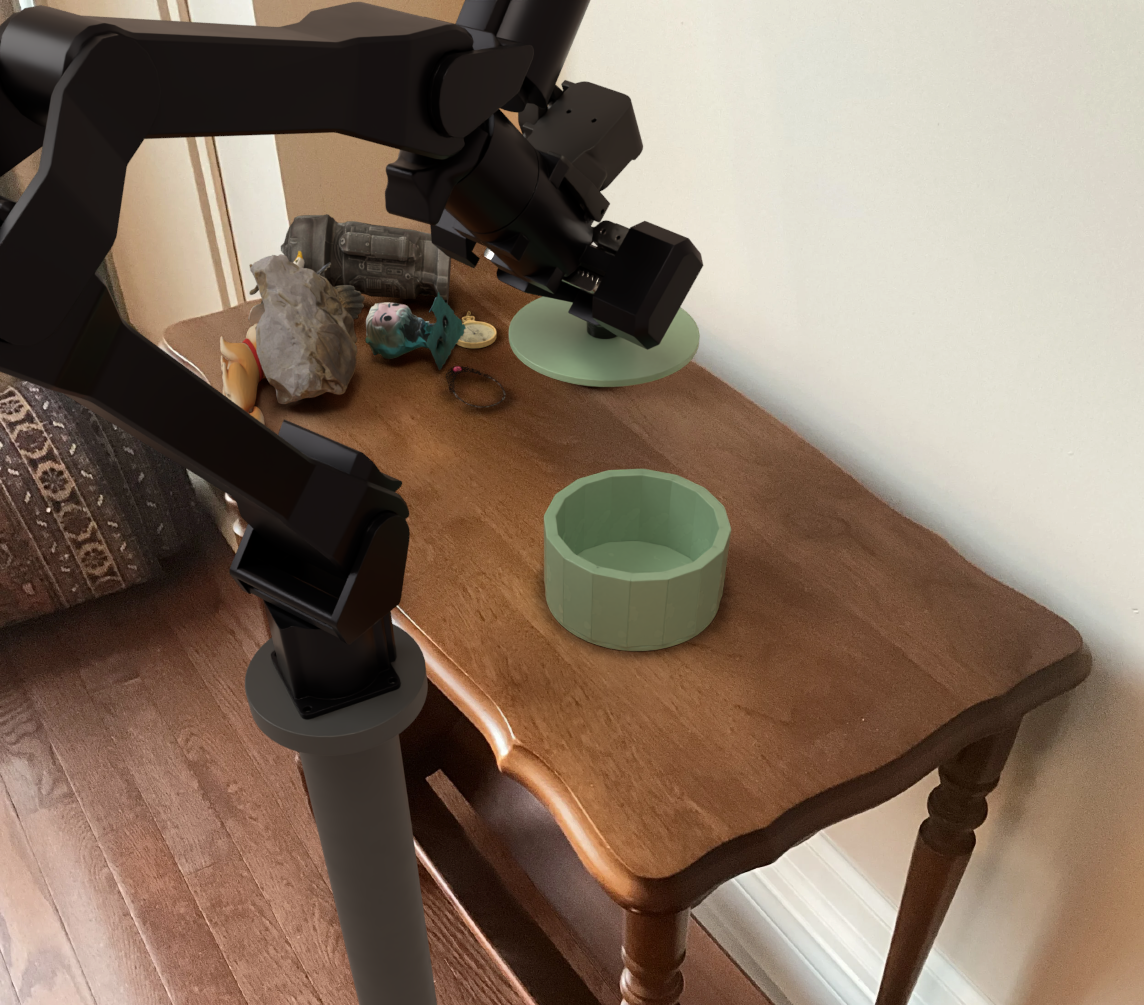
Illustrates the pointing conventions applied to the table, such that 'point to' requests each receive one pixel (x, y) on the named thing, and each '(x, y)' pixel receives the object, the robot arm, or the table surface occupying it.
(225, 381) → the toy
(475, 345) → the pocket watch
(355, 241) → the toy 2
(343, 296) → the eagle figurine
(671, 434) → the table surface
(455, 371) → the necklace
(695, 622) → the pot
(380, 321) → the figurine
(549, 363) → the lid
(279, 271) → the stone
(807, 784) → the table surface
